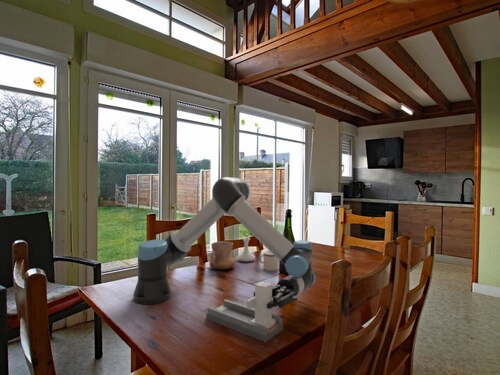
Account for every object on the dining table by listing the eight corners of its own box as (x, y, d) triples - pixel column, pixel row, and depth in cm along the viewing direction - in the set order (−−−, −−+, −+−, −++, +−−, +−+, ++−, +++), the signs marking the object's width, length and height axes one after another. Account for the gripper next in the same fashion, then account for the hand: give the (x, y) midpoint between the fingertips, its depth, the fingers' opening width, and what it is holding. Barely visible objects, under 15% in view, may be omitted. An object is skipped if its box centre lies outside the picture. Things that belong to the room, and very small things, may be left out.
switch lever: (250, 325, 97) (250, 284, 97) (260, 318, 102) (261, 279, 101) (265, 330, 93) (266, 288, 93) (275, 323, 98) (276, 283, 98)
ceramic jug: (222, 262, 180) (222, 239, 180) (241, 266, 172) (241, 242, 171) (201, 270, 166) (200, 244, 165) (220, 274, 157) (220, 248, 157)
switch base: (206, 318, 106) (206, 307, 106) (224, 309, 114) (224, 298, 114) (266, 342, 91) (266, 330, 91) (282, 330, 99) (283, 318, 99)
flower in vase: (240, 263, 178) (241, 222, 177) (234, 259, 188) (234, 220, 188) (260, 261, 183) (261, 221, 182) (252, 257, 193) (253, 219, 193)
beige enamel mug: (281, 267, 170) (281, 247, 170) (275, 272, 162) (275, 251, 162) (262, 264, 176) (262, 245, 176) (255, 268, 168) (255, 248, 167)
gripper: (311, 302, 107) (276, 327, 88) (271, 291, 117) (232, 311, 98) (311, 281, 107) (277, 302, 88) (271, 272, 117) (233, 289, 98)
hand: (253, 307), depth 93 cm, fingers closed on switch lever, 4 cm apart
